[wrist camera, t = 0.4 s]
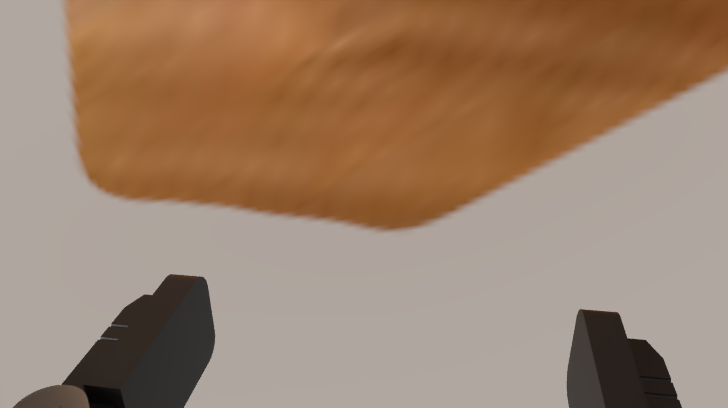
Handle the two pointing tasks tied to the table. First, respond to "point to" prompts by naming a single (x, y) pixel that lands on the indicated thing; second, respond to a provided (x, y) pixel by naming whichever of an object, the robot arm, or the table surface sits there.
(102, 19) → the table surface
